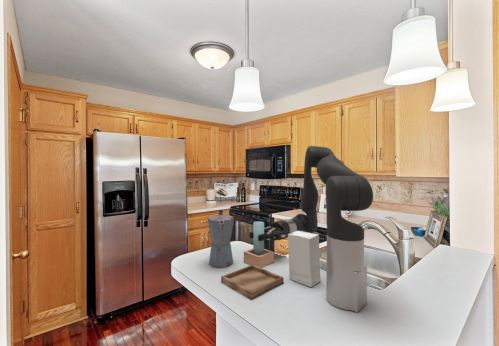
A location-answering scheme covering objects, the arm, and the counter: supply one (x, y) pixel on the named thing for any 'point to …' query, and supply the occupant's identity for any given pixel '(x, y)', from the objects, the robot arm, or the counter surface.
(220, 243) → the moka pot
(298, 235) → the skincare box
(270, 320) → the counter surface
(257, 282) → the tray
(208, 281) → the counter surface
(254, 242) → the dowel pin
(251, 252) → the square terracotta collar
